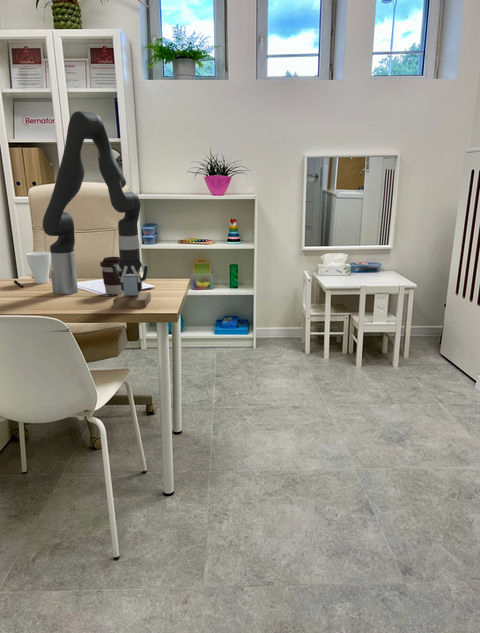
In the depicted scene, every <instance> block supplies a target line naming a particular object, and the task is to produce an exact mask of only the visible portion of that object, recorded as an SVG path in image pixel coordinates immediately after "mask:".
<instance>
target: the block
mask: <svg viewBox="0 0 480 633" xmlns="http://www.w3.org/2000/svg"><path fill="white" fill-rule="evenodd" d="M137 282H138V281H137V277H135V275H134V274H127V275H126V276H125V277H123V286H124V295H138V294H139V293H140V292H141V291H140V292H138V286H137Z"/></svg>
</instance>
